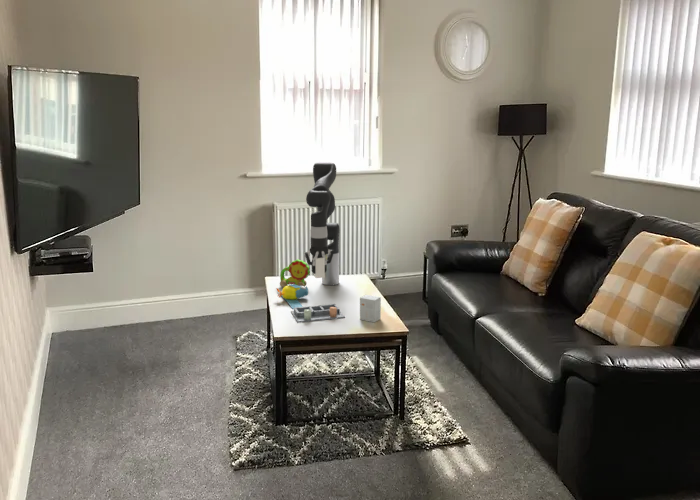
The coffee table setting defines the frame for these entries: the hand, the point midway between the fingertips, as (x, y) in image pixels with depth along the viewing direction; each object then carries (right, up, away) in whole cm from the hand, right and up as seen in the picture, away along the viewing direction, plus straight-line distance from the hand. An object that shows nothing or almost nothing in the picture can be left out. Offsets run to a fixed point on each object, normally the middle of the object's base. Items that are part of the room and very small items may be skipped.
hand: (319, 272), depth 281 cm
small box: (+23, -21, +3) cm, 32 cm away
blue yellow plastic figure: (-15, -15, +30) cm, 37 cm away
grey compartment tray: (-1, -20, +8) cm, 21 cm away
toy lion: (-15, -10, +50) cm, 53 cm away
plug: (0, -2, 0) cm, 2 cm away
